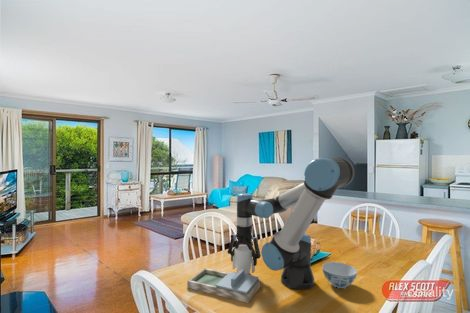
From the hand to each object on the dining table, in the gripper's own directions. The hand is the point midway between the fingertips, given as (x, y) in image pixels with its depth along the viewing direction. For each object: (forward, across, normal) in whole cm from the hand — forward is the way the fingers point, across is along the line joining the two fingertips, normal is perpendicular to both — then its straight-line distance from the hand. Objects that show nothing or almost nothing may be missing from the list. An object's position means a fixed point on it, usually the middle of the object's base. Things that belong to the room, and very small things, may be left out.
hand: (243, 269), depth 135 cm
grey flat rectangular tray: (+2, +3, +16) cm, 16 cm away
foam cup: (+2, 0, 0) cm, 2 cm away
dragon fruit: (+2, +12, -31) cm, 33 cm away
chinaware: (+2, -44, -8) cm, 45 cm away
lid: (-1, -4, +16) cm, 16 cm away
